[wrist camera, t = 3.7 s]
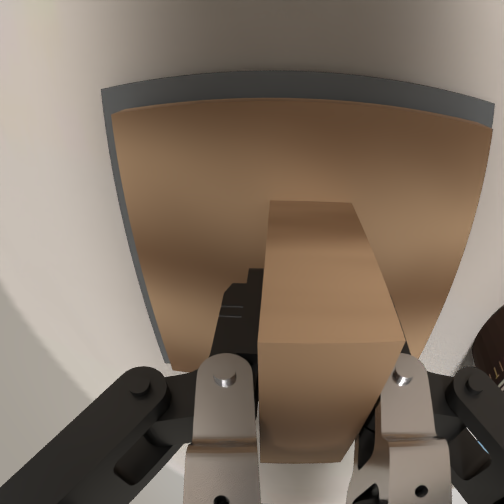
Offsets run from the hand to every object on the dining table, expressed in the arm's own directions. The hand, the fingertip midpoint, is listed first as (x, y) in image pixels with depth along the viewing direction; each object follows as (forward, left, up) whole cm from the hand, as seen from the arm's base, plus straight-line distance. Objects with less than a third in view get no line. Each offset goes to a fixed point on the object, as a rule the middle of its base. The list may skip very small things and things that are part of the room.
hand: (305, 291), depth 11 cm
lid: (0, 0, -2) cm, 2 cm away
